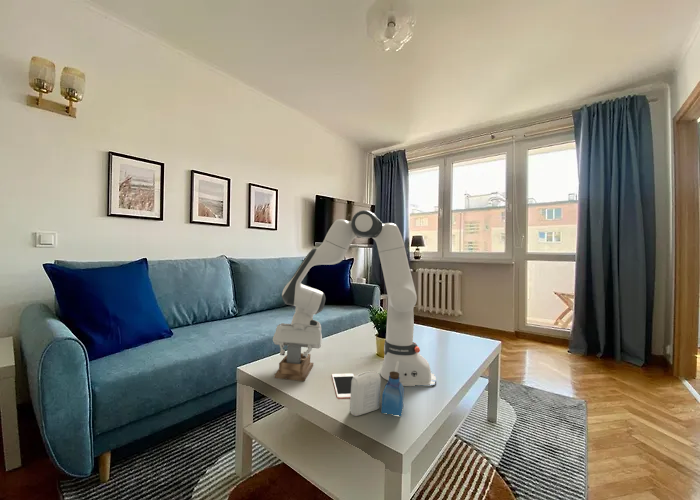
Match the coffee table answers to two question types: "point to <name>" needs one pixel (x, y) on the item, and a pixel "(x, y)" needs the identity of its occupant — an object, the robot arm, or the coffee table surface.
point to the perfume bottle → (393, 395)
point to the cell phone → (342, 385)
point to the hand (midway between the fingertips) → (293, 355)
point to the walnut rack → (294, 369)
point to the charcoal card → (294, 354)
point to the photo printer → (365, 393)
